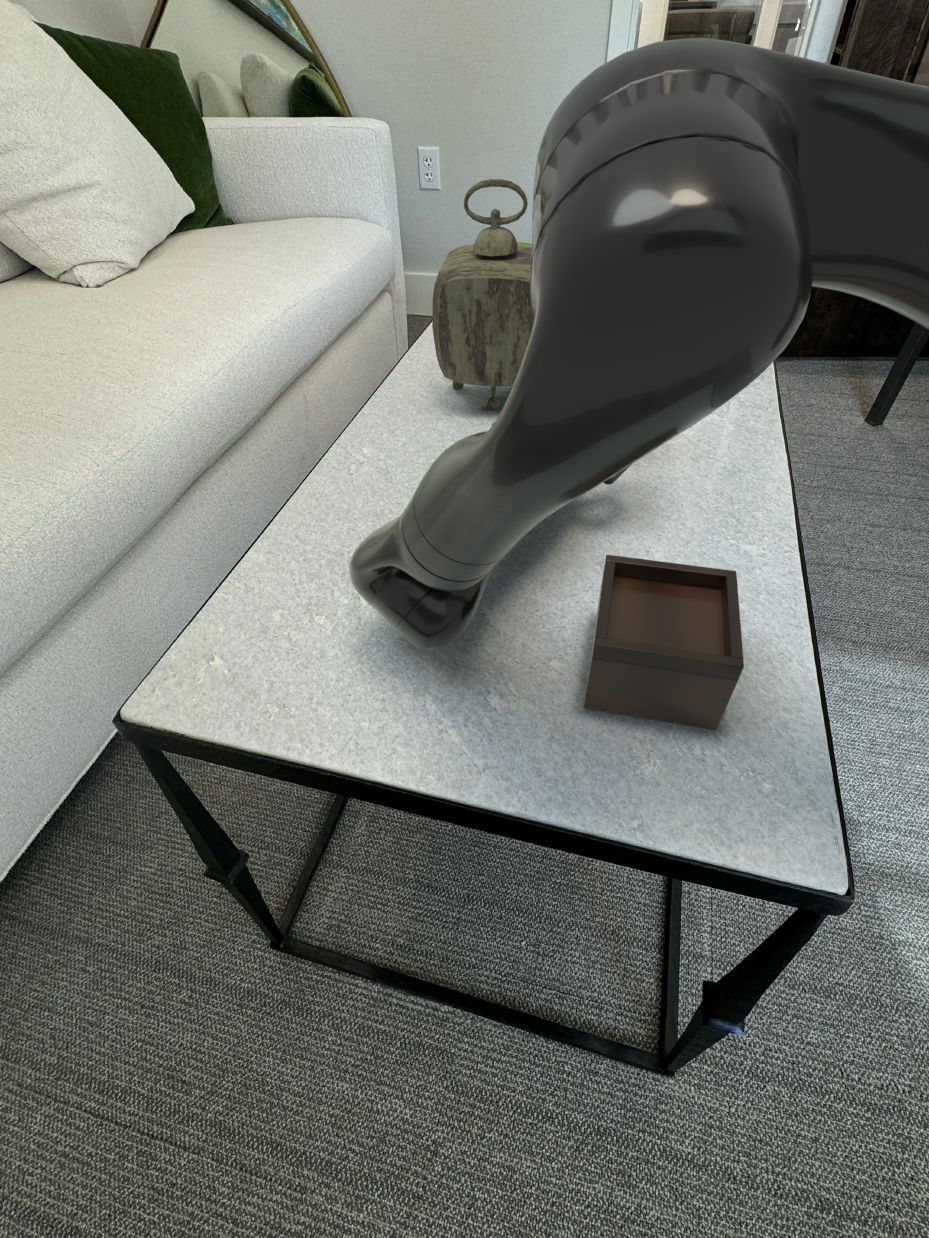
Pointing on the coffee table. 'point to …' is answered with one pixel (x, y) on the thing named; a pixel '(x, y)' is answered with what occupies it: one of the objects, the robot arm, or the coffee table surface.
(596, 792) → the coffee table surface
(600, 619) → the dark brown square box
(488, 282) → the tabletop clock
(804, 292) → the robot arm
